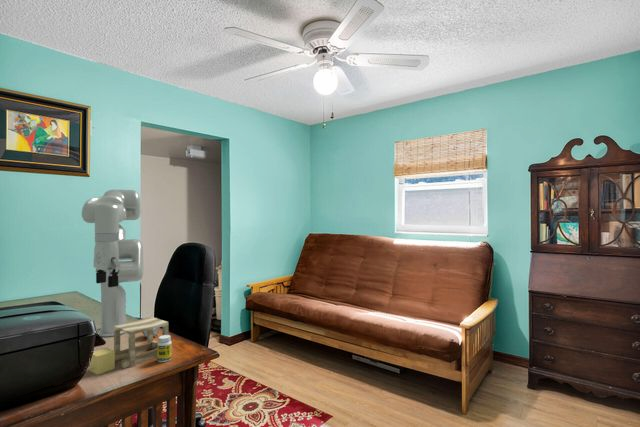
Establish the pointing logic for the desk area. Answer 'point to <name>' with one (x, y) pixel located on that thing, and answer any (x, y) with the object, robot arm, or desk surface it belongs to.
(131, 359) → the birch shelf
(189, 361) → the desk surface
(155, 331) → the game die
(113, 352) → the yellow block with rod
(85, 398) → the desk surface
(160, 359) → the supplement bottle
